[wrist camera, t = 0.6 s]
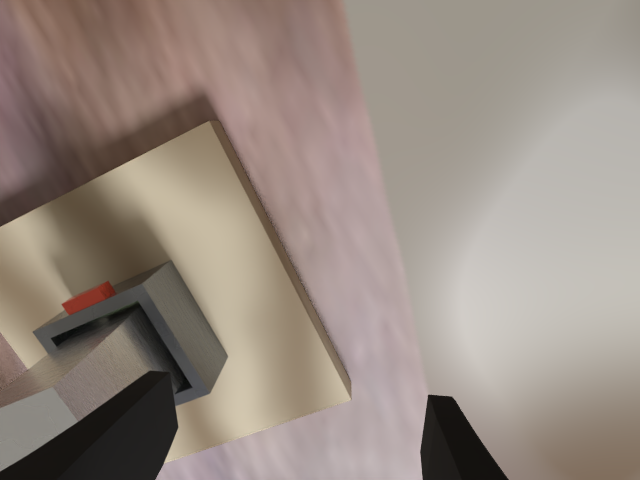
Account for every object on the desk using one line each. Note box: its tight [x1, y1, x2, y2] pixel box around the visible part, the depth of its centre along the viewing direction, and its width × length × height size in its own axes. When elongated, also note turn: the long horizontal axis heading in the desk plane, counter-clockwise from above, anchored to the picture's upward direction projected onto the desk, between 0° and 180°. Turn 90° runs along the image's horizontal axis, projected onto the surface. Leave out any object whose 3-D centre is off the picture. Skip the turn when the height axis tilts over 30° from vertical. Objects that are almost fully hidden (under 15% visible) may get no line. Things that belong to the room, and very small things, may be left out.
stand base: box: [0, 121, 352, 463], centre depth 22 cm, size 16×16×2 cm
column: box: [0, 301, 185, 471], centre depth 17 cm, size 4×4×8 cm
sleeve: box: [33, 260, 228, 406], centre depth 19 cm, size 6×7×3 cm
